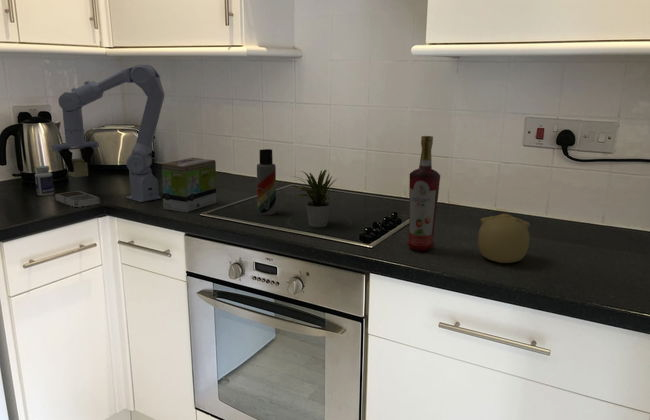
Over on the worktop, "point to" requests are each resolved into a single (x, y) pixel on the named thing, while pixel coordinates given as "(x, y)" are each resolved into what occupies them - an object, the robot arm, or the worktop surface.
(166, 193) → the tea box
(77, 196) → the grey flat frame
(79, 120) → the robot arm
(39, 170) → the pill bottle
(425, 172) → the liquor
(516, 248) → the sculpture
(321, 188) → the house plant
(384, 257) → the worktop surface
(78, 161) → the block
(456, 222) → the worktop surface
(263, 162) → the lotion bottle
